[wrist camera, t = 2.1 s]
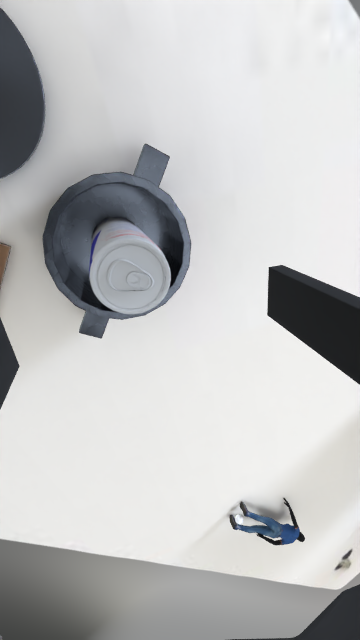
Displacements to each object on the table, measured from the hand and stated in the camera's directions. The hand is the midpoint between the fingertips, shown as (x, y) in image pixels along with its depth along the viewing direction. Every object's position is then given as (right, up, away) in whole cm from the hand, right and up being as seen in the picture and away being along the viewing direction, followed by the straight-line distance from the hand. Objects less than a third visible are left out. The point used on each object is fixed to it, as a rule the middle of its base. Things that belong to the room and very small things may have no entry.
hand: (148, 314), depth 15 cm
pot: (-6, +9, +19) cm, 22 cm away
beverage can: (-5, +8, +19) cm, 22 cm away
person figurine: (+19, -41, +49) cm, 67 cm away
